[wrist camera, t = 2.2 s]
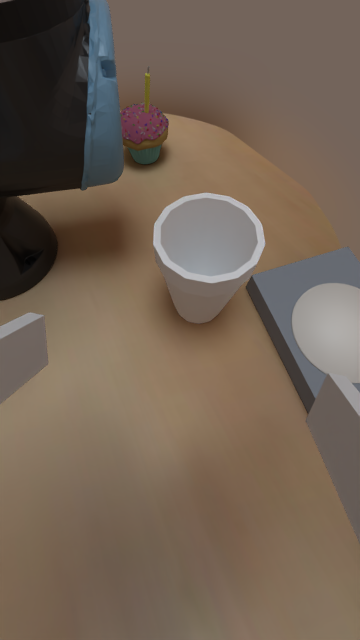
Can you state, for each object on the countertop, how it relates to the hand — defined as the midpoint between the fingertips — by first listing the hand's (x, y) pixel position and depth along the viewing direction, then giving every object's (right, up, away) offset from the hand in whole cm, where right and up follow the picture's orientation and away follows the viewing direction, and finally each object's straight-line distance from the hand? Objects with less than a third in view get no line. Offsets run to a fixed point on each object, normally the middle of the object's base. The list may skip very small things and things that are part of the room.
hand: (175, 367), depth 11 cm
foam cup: (+3, +5, +21) cm, 22 cm away
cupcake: (-6, +31, +32) cm, 45 cm away
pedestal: (+19, 0, +19) cm, 27 cm away
